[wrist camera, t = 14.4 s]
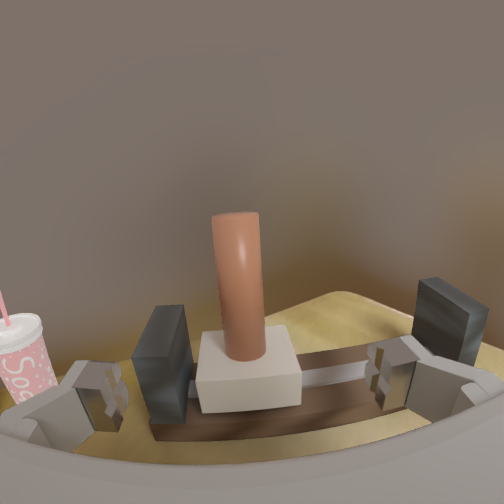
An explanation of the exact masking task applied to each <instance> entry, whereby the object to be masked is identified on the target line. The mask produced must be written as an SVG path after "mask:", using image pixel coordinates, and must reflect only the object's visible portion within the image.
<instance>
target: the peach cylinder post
mask: <svg viewBox="0 0 504 504" xmlns="http://www.w3.org/2000/svg"><path fill="white" fill-rule="evenodd" d="M212 227H213V239H214V249H215V260H216V270H217V279H218V289H219V298H220V307H221V316H222V324H223V330H220V331H219V330H218V331H203V332H202V338H201V345H200V352H199V359H198V366H197V374H196V381H195V382H196V387H197V392H198V396H199V401H200V405H201V410H202V413H223V412H238V411H251V410H261V409H271V408H280V407H288V406H295V405H301V392H302V371H301V368H300V365H299V363H298V360H297V357H296V354H295V351H294V349H293V346H292V343H291V340H290V337H289V335H288V332H287V329H286V326H285V325H276V326H266V327H265V319H264V301H263V284H262V267H261V249H260V233H259V216H258V213H256V212H232V213H224V214H218V215H215V216H212Z"/></svg>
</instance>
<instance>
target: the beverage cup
mask: <svg viewBox="0 0 504 504" xmlns="http://www.w3.org/2000/svg"><path fill="white" fill-rule="evenodd" d="M0 309H1V312H2V315H3V318H2V319H0V377H1V378H2V380H3V382H4V384H5V386H6V387H7V389H8V391H9V393H10V394H11V396H12V398H13V399H14V401H15V403H16V404H19V403H21V402H23V401H25V400H27V399H29V398H31V397H33V396H35V395H37V394H39V393H41V392H43V391H45V390H47V389H49V388H51V387H53V386H58V382H57V380H56V377H55V374H54V371H53V368H52V365H51V362H50V359H49V356H48V353H47V349H46V346H45V343H44V339H43V336H42V330H43V327H42V325H41V323H42V322H41V319H40V318H39V316H38V315H36V314H32V313H20V314H15V315H10V316H8V315H7V311H6V308H5V305H4V301H3V298H2V294H1V291H0Z"/></svg>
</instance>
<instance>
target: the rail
mask: <svg viewBox="0 0 504 504" xmlns="http://www.w3.org/2000/svg"><path fill="white" fill-rule="evenodd" d="M488 312H489V308H488V307H486V306H485V305H483V304H481V303H480V302H478V301H476V300H475V299H473V298H472V297H470V296H468V295H467V294H465V293H463V292H462V291H460V290H459V289H457V288H455V287H454V286H452V285H450V284H449V283H447V282H445V281H443V280H442V279H440V278H438V277H435V278H428V279H422V280H419V284H418V293H417V301H416V308H415V314H414V321H413V327H412V333H411V335H412V336H413V337H414V338H415V339H416V340H417V341H418V342H419V343H420V344H421V345H422V346H423V347H424V348H425V349H426V350H427V351H428V352H429V353H430V354H431V355H432V356H433V357H434V356H440V357H443V358H446V359H449V360H453V361H456V362H459V363H463V364H466V365H469V366H473V367H474V364H475V360H476V357H477V354H478V350H479V347H480V343H481V340H482V336H483V332H484V328H485V324H486V320H487V316H488ZM368 346H369V344H364V345H358V346H352V347H346V348H340V349H334V350H327V351H321V352H314V353H306V354H299V355H296V357H297V360H298V363H299V365H300V368H301V371H302V392H301V405H295V406H288V407H280V408H271V409H261V410H251V411H238V412H223V413H202V410H201V405H200V401H199V396H198V392H197V387H196V382H195V381H196V374H197V366H198V363H194V362H193V357H192V351H191V346H190V341H189V334H188V330H187V323H186V317H185V310H184V305H169V306H168V305H167V306H156V307H155V309H154V312H153V314H152V316H151V318H150V320H149V322H148V324H147V326H146V328H145V330H144V332H143V334H142V336H141V338H140V340H139V342H138V345H137V346H136V348H135V351H134V353H133V355H132V357H131V358H132V362H133V365H134V368H135V372H136V375H137V378H138V381H139V385H140V388H141V391H142V394H143V397H144V400H145V403H146V406H147V409H148V412H149V414H150V417H151V418H150V422H149V425H150V428H151V430H152V433H153V435H154V438H155V440H156V441H221V440H238V439H251V438H262V437H271V436H280V435H288V434H295V433H301V432H308V431H314V430H320V429H325V428H331V427H336V426H341V425H345V424H350V423H354V422H359V421H363V420H367V419H371V418H375V417H379V416H383V415H386V414H390V413H394V412H397V411H401V410H404V409H407V408H406V407H405V406H402V407H398V408H394V409H390V410H385V411H382V410H381V409H380V407H379V405H378V404H377V402H376V400H375V394H376V393H374V392H371V391H370V390H369V389H368V387H367V385H366V382H365V375H364V371H365V365H366V363H367V362H368V361H369V360H370V358H369V356H368V355H367V350H368Z"/></svg>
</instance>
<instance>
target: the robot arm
mask: <svg viewBox="0 0 504 504" xmlns="http://www.w3.org/2000/svg"><path fill="white" fill-rule="evenodd" d="M367 355H368V356H369V358H370V360H369V361H368V362H367V363H366V365H365V371H364V375H365V382H366V385H367V387H368V389H369V390H370V391H371V392H374V393H376V394H375V400H376V402H377V404H378V405H379V407H380V409H381V410H382V411H385V410H390V409H394V408H398V407H402V406H405V407H406V408H408V409H409V410H411V411H413V412H415V413H416V414H418V415H420V416H422V417H423V418H425V419H427V420H429V421H430V422H432V424H429V425H426V426H423V427H421V428H418V429H415V430H412V431H409V432H406V433H403V434H399V435H396V436H393V437H389V438H386V439H382V440H379V441H375V442H371V443H367V444H363V445H359V446H355V447H351V448H346V449H342V450H337V451H332V452H327V453H321V454H316V455H310V456H303V457H297V458H290V459H282V460H274V461H264V462H253V463H239V464H218V465H175V464H154V463H141V462H130V461H121V460H113V459H105V458H99V457H92V456H86V455H81V454H75V453H71V452H72V451H73V450H74V449H76V448H77V447H78V446H79V445H80V444H82V443H83V442H84V441H85V440H86V439H87V438H89V437H90V436H91V435H92V434H93V433H94V432H95V431H104V432H117V433H118V431H119V429H120V426H121V423H122V420H123V418H122V415H121V413H123V412H124V411H126V409H127V406H128V400H129V395H128V389H127V386H126V383H125V382H124V381H122V380H121V379H120V377H121V375H122V370H121V368H120V365H119V364H118V363H117V362H106V361H89V360H77V361H75V363H74V364H73V365H72V367H71V368H70V370H69V371H68V372H67V374H66V375H65V377H64V378H63V380H62V381H61V382H60V384H59V385H58V386H53V387H51V388H49V389H47V390H45V391H43V392H41V393H39V394H37V395H35V396H33V397H31V398H29V399H27V400H25V401H23V402H21V403H19V404H17V405H15V406H13V407H11V408H9V409H7V410H5V411H4V412H3V413H2V414H1V416H0V504H504V382H503V381H502V380H501V379H499V378H498V377H497V376H496V375H495V374H494V373H493V372H490V371H486V370H483V369H479V368H476V367H473V366H469V365H466V364H463V363H459V362H456V361H453V360H449V359H446V358H443V357H440V356H434V357H433V356H432V355H431V354H430V353H429V352H428V351H427V350H426V349H425V348H424V347H423V346H422V345H421V344H420V343H419V342H418V341H417V340H416V339H415V338H414V337H413V336H412V335H409V334H407V335H403V336H399V337H396V338H391V339H387V340H382V341H377V342H372V343H369V346H368V350H367Z"/></svg>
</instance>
